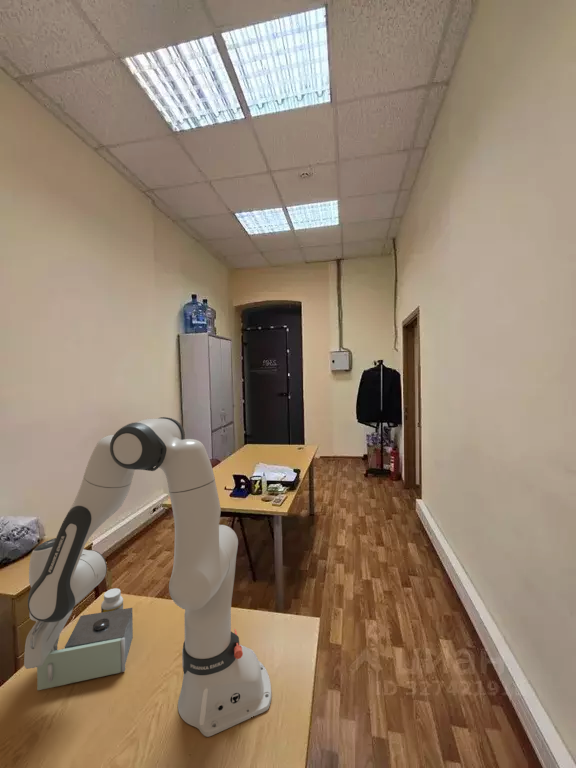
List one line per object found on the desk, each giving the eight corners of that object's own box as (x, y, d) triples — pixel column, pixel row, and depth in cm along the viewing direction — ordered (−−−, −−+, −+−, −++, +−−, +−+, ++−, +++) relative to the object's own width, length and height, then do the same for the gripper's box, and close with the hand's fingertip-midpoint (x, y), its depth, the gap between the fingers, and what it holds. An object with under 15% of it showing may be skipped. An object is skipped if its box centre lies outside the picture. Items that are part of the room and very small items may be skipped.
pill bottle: (96, 630, 105) (96, 595, 105) (115, 617, 111) (114, 584, 111) (109, 637, 103) (109, 601, 102) (127, 624, 108) (127, 590, 108)
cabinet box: (132, 637, 103) (132, 605, 102) (123, 669, 91) (123, 634, 91) (81, 646, 99) (80, 613, 99) (65, 681, 88) (64, 644, 87)
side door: (125, 668, 91) (125, 637, 91) (124, 674, 89) (123, 642, 89) (39, 686, 85) (38, 653, 85) (35, 693, 83) (35, 660, 83)
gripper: (46, 629, 78) (47, 688, 78) (78, 579, 98) (78, 626, 98) (15, 634, 77) (15, 694, 77) (53, 582, 96) (54, 630, 97)
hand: (51, 655), depth 88 cm, fingers closed
